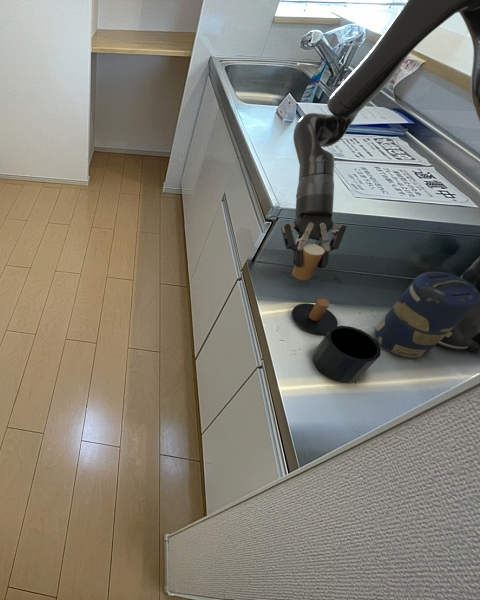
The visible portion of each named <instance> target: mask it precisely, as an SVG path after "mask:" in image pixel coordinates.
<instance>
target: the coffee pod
mask: <svg viewBox="0 0 480 600" xmlns="http://www.w3.org/2000/svg"><path fill="white" fill-rule="evenodd" d="M302 251H303V265H302V267H296V265H294V267H293V269H292V272H291V274H292V276H293V278H295V279H297V280H300V281H309V280H311V279H312V277H313V275H314V274H315V271H317V268H318V264H319V262H320V260H321V258H322V256H323V254H324V252H325V251H324V249H323V248H322V247H321V246H319V245H317V244H316V243H308V244H305V245H304V247H303V250H302Z"/></svg>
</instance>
